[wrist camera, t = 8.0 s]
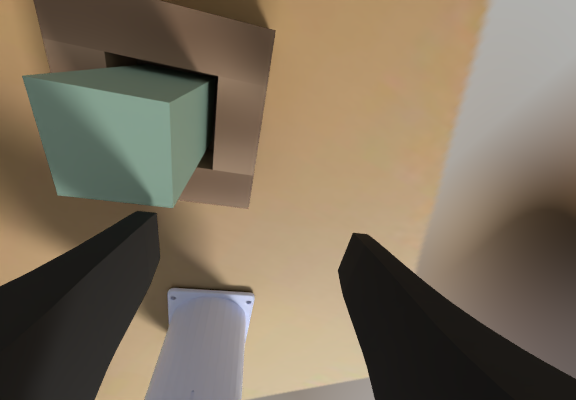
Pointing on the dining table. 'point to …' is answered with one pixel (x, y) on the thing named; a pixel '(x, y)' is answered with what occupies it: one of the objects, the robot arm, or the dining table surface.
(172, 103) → the square peg
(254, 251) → the dining table surface
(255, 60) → the hole block
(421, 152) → the dining table surface
